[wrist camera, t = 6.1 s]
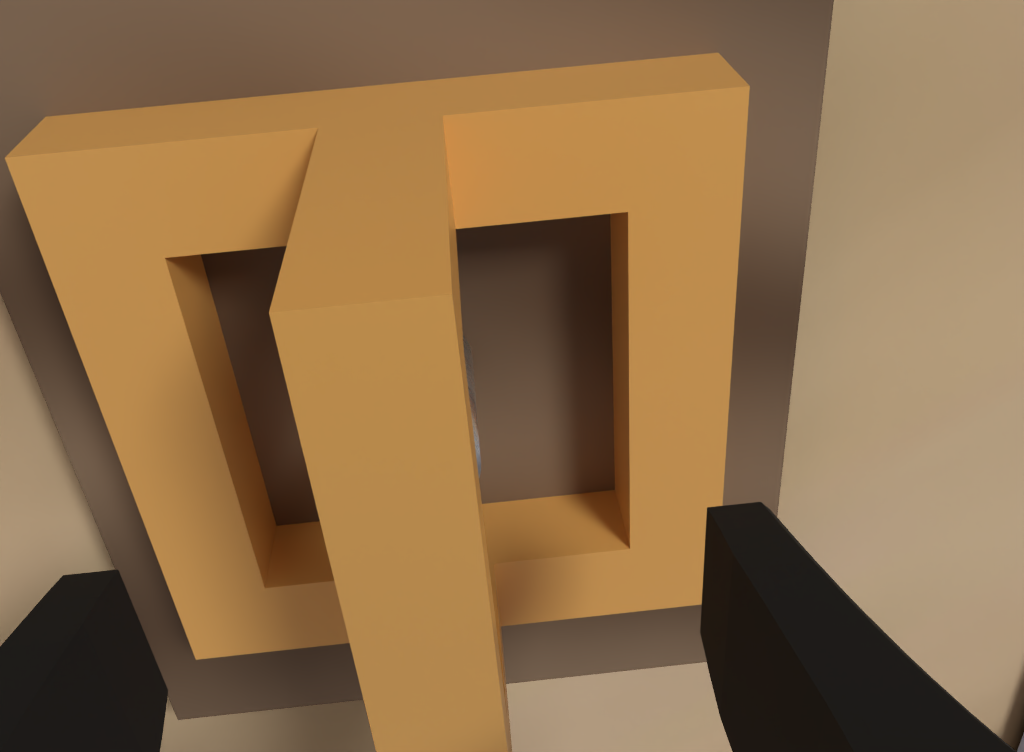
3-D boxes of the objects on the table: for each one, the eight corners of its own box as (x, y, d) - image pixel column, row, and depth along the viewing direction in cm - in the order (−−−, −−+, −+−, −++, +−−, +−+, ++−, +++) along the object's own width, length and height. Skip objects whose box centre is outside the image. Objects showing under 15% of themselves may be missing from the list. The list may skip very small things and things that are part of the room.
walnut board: (748, 618, 21) (762, 655, 20) (188, 679, 20) (177, 719, 20) (854, -496, 11) (890, -516, 10) (-240, -410, 10) (-297, -422, 10)
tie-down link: (695, 542, 18) (801, 852, 13) (211, 594, 18) (129, 929, 13) (718, 52, 13) (903, 249, 8) (45, 116, 13) (-197, 358, 8)
